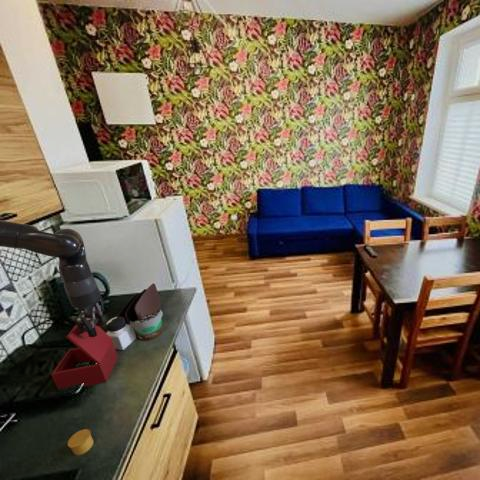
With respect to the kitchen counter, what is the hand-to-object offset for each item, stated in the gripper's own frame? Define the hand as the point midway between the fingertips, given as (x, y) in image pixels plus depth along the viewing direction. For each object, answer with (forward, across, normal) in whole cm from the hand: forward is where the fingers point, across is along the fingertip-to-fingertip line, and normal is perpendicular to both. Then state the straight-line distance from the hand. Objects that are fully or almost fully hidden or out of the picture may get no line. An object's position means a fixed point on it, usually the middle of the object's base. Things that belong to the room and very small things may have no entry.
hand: (97, 330), depth 93 cm
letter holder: (+19, -30, +3) cm, 35 cm away
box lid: (+3, 0, -3) cm, 4 cm away
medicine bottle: (+19, -14, 0) cm, 23 cm away
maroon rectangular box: (+19, 0, -6) cm, 20 cm away
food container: (+19, -15, +11) cm, 26 cm away
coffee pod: (+19, +28, +3) cm, 34 cm away
